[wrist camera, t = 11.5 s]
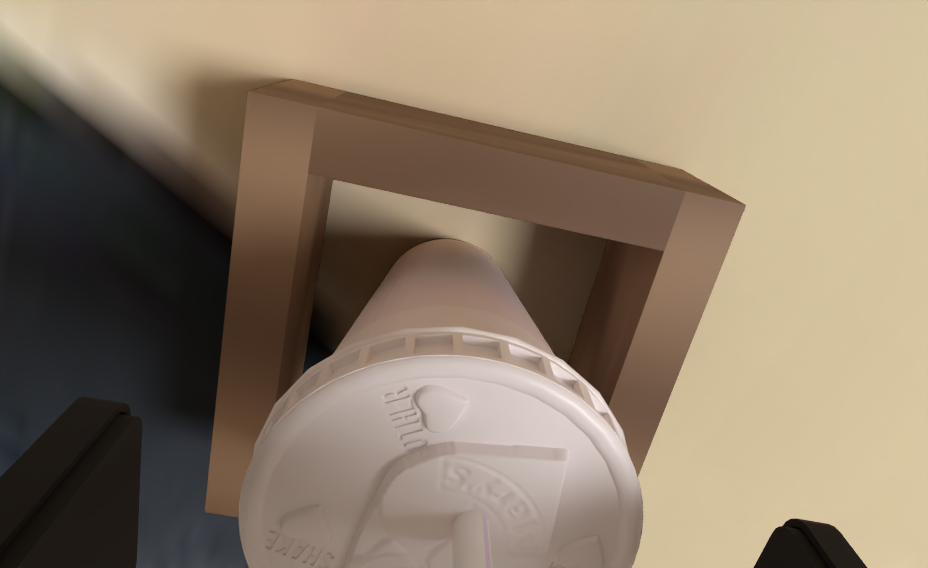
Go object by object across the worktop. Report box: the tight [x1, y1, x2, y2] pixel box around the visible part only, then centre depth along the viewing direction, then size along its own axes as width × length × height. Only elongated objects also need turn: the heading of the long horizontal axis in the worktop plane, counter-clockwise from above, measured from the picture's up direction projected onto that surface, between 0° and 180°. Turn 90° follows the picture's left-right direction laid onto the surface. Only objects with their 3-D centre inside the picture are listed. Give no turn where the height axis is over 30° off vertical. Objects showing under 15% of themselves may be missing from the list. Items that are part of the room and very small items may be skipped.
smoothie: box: [239, 239, 643, 568], centre depth 12 cm, size 6×6×14 cm
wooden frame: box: [205, 79, 746, 517], centre depth 17 cm, size 11×11×4 cm
